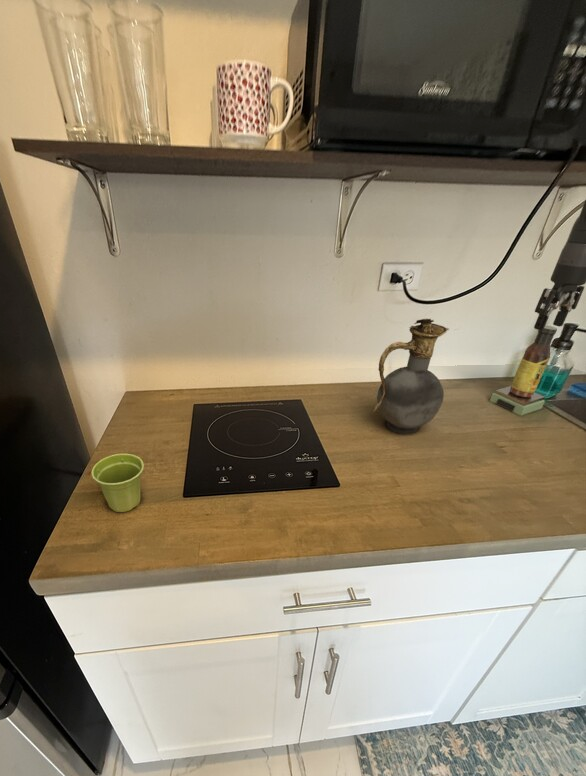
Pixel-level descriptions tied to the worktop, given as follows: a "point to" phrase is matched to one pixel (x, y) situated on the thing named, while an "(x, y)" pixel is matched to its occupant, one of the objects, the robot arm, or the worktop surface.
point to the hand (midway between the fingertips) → (547, 327)
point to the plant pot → (120, 480)
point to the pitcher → (411, 382)
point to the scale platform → (519, 397)
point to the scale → (516, 405)
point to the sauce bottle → (533, 364)
